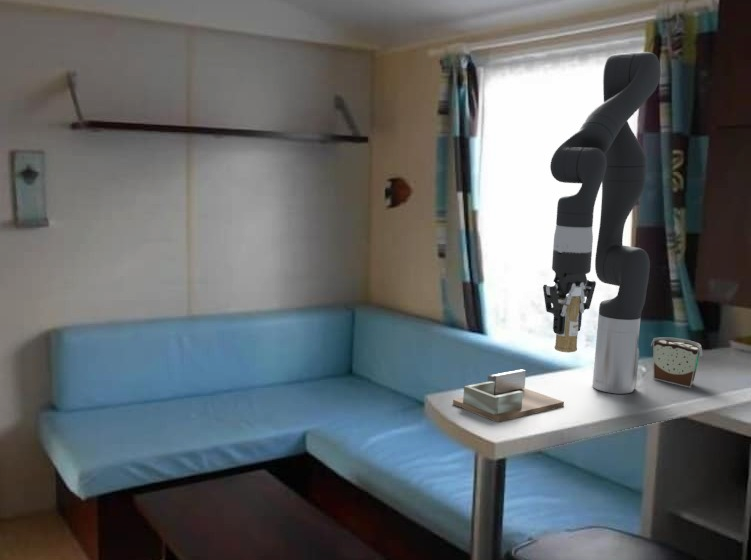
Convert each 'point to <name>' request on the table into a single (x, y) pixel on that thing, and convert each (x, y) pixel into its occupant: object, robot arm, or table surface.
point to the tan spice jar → (570, 324)
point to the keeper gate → (508, 381)
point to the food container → (675, 360)
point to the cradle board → (504, 402)
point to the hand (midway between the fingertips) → (566, 331)
